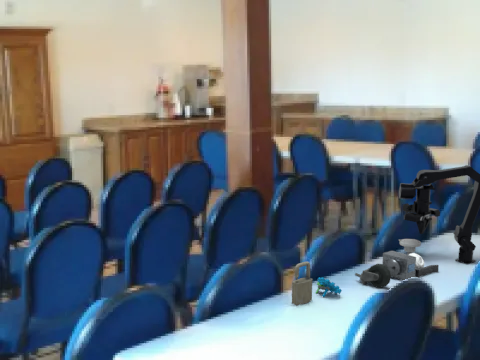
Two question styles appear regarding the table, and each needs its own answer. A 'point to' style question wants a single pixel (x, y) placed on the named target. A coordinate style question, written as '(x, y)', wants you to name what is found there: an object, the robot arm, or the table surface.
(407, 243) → the showerhead
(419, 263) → the white folded round lump
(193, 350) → the table surface
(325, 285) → the blue toy creature
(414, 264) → the bracket
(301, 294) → the padlock
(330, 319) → the table surface
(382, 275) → the caster wheel
